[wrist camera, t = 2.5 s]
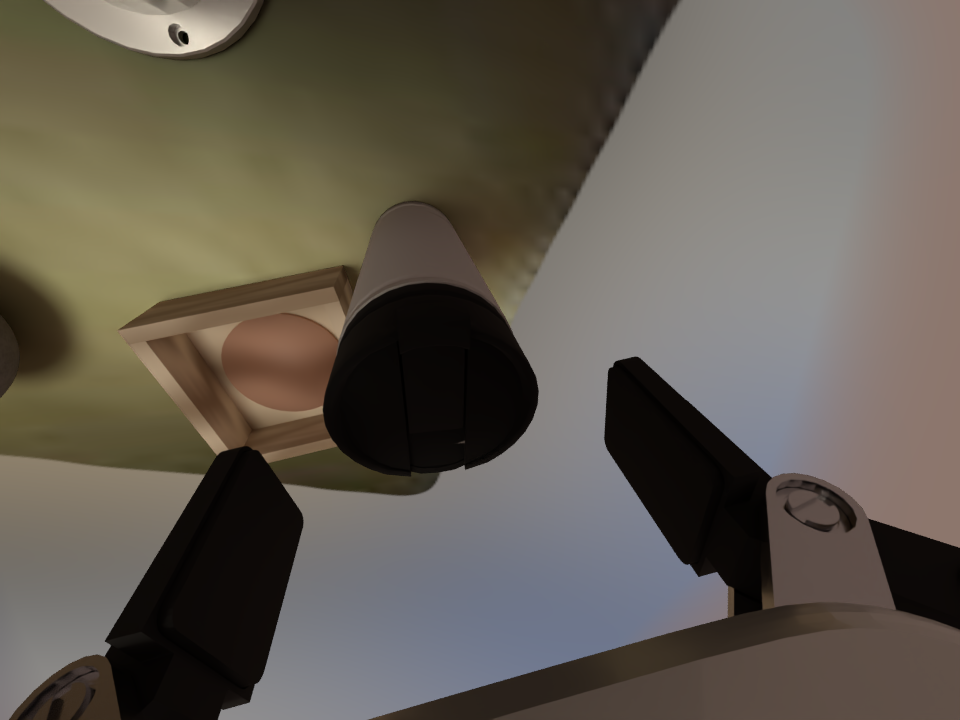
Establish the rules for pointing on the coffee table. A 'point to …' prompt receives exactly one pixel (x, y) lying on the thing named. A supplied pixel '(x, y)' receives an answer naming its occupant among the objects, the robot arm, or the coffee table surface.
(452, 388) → the travel mug
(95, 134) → the coffee table surface
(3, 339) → the decorative ball
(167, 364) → the open box
